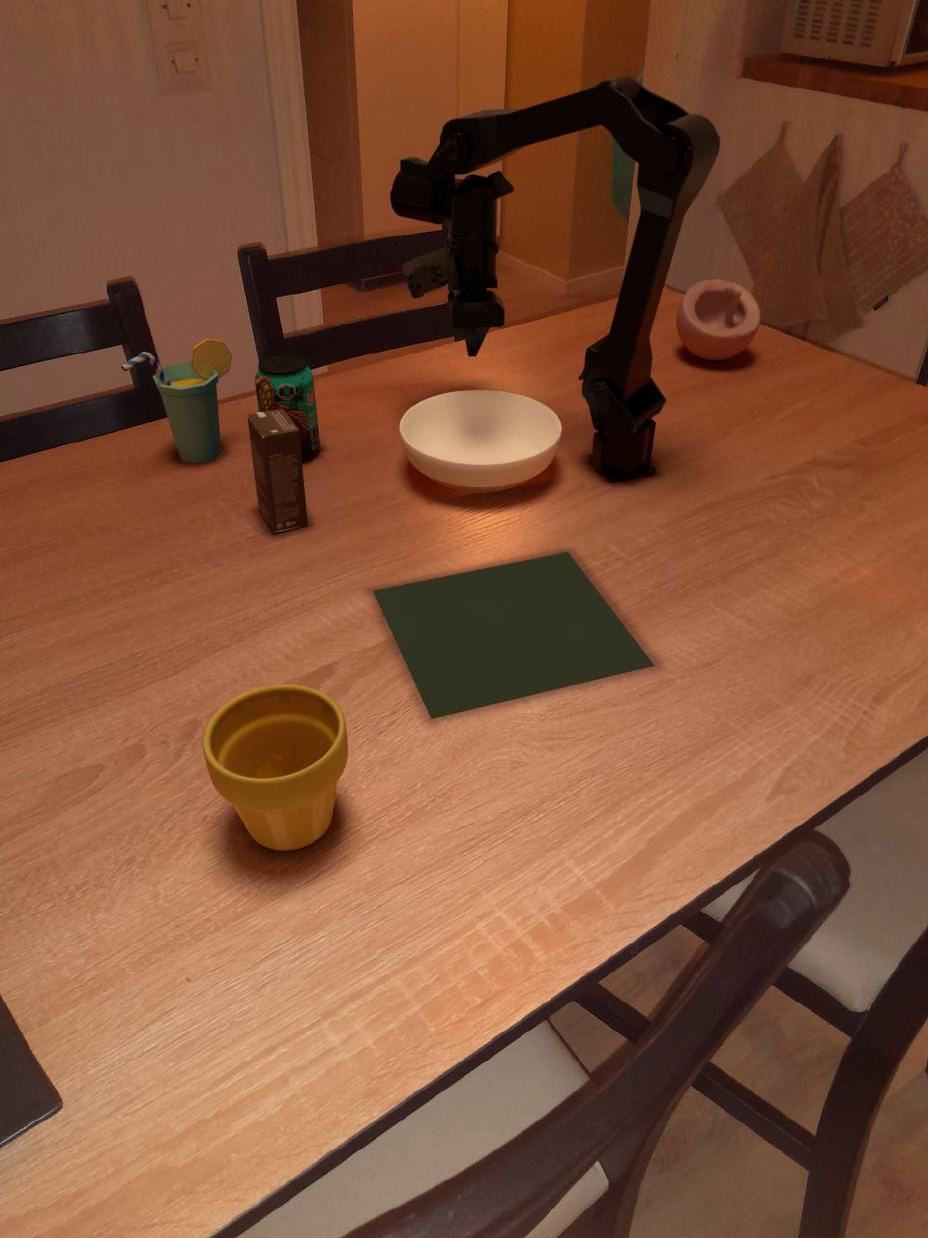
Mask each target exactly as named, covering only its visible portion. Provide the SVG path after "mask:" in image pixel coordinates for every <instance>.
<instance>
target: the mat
mask: <svg viewBox="0 0 928 1238" xmlns="http://www.w3.org/2000/svg"><path fill="white" fill-rule="evenodd" d="M372 593H373V594H374V596H375V598H376V601H377V603H378V605H379V608H380V610H381V612H382V614H383V616H384V618H385V621H386V623H387V625H388V627H389V630H390V631H391V634H392V636H393V639H394V640H395V642H396V645H397V647H398V649H399V652H400V654H401V656H402V658H403V660H404V662H405V664H406V666H407V669H408V671H409V673H410V675H411V677H412V680H413V682H414V684H415V686H416V689H417V691H418V693H419V695H420V697H421V700H422V702H423V704H424V706H425V708H426V710H427V713H428V715H429V717H430V719H431V720H434V719H439V718H442V717H447V716H450V715H454V714H458V713H463V712H467V711H471V710H475V709H479V708H483V707H488V706H491V705H497V704H501V703H505V702H508V701H513V700H517V699H522V698H526V697H530V696H534V695H537V694H542V693H547V692H550V691H554V690H559V689H564V688H567V687H572V686H575V685H576V686H577V685H580V684H584V683H587V682H592V681H597V680H600V679H605V678H609V677H614V676H617V675H621V674H626V673H630V672H635V671H638V670H642V669H647V668H650V667H651V668H652V667H655V664H654V662H653V661H652V660H651V658H649V656H648V654H647V653H646V652H645V650H643V648H642V647H641V646H640V644H639V643H638V641H637V640H636V639H635V638H634V636H633V635H632V634H631V633H630V631H629V630H628V629H627V627H626V626H625V625H624V623H623V622H622V620H621V619H620V618H619V616H618V615H617V613H615V611H614V610H613V609H612V607H610V605H609V603H608V602H607V601H606V600H605V598H604V597H603V596H602V594H601V592H599V590H598V589H597V588H596V586H595V585H594V583H592V581H591V580H590V579H589V578H588V576H587V575H586V573H585V572H584V570H583V569H582V568H581V567H580V566H579V564H578V563H577V562H576V560H575V559H574V557H573V556H572V555H571V554H570V552H569V551H564V552H559V553H554V554H549V555H544V556H539V557H534V558H529V559H524V560H519V561H515V562H510V563H503V564H499V565H494V566H488V567H484V568H480V569H479V568H478V569H474V570H469V571H464V572H459V573H454V574H450V575H443V576H439V577H434V578H429V579H424V580H419V581H414V582H409V583H405V584H399V585H394V586H389V587H383V588H379V589H374V590H372Z"/></svg>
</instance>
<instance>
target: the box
mask: <svg viewBox="0 0 928 1238" xmlns="http://www.w3.org/2000/svg"><path fill="white" fill-rule="evenodd" d="M247 424H248V432H249V441H250V449H251V458H252V466H253V474H254V483H255V491H256V499H257V507H258V511H259V512H260V514H261V515H262V517H263V519H264V520H265V522H266V524H267V525H268V527H269V528H270V530H271V532H272V533H273V534H276V533H280V534H281V533H282V532H286V531H291V530H294V529H298V528H301V527H305V526H307V525H308V524H309V522H308V521H309V520H308V510H307V509H308V508H307V498H306V497H307V496H306V488H305V478H304V466H303V461H302V456H301V445H300V434H299V429H298V428H297V426H296V425H295V424H294V422H293V421H292V420H291V419H290V417H289V416H288V415H287V414H286V412H285V411H284V410H283V409H278V410H271V411H265V412H259V411H258V412H255V413H249V414H248V415H247Z"/></svg>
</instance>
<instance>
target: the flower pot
mask: <svg viewBox="0 0 928 1238" xmlns="http://www.w3.org/2000/svg"><path fill="white" fill-rule="evenodd" d="M347 729H348V728H347V723H346V718H345V715H344V712H343V711H342V709H341V707H340V706H339V704H338V703H337V702H336V701H335V700H334V699H333V698H331V697H330V696H329V695H328V694H326V693H324V692H323V691H320V690H319V689H316V688H314V687H310V686H306V685H300V684H295V683H294V684H292V683H279V684H269V685H265V686H260V687H256V688H253V689H250V690H248V691H245V692H242V693H241V694H239V695H237V696H235V697H232V698H231V699H230V700H228V701H226V702H225V703H224V704H223V705H222V706H220V708H218V709H217V710H216V712H215V713H214V714H213V715H212V716H211V718H210V719H209V721H208V722H207V725H206V726H205V729H204V732H203V736H202V752H203V757H204V760H205V764H206V768H207V772H208V775H209V778H210V780H211V783H212V785H213V787H214V789H215V790H216V792H217V793H218V794H219V795H220V796H221V798H223V799H224V800H225V801H226V802H228V803H230V804H231V805H232V806H233V808H234V810H235V812H236V813H237V815H238V816H239V818H240V819H241V822H242V824H243V825H244V826H245V828H246V830H247V832H248V833H249V835H250V837H252V839H253V840H254V841H255V842H256V843H258V844H259V845H261V846H263V847H265V848H267V849H271V850H274V851H279V852H280V851H281V852H283V851H284V852H285V851H286V852H287V851H294V850H299V849H302V848H305V847H307V846H308V845H312V844H313V843H315V842H316V841H317V840H319V839H320V838H321V837H322V836H323V835H325V834H326V832H327V830H328V829H329V826H330V825H331V823H332V819H333V812H334V806H335V799H336V793H337V788H338V782H339V780H340V779H341V778H342V776H343V773H344V771H345V770H346V766H347V765H348V764H347V763H348V759H349V740H348V739H349V738H348V730H347Z"/></svg>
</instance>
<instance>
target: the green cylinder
mask: <svg viewBox="0 0 928 1238" xmlns="http://www.w3.org/2000/svg"><path fill="white" fill-rule="evenodd" d="M257 367H258V369H257V372H256V374H255V376H254V386H255V393H256V400H257V407H258V413H259V412H265V411H271V410H278V409H283V410H284V411H285V412H286V414H287V415H288V416H289V417H290V419H291V420H292V421H293V422H294V424H295V425H296V426H297V428H298V429H299V434H300V445H301V456H302V462H305V461H307V460H309V459H311V458H313V457H314V456H315V455H316V454H317V452H318V451H319V450H320V447H321V439H320V429H319V420H318V410H317V400H316V399H317V398H316V390H315V380H314V374H313V372H312V370H311V368H309V366H308V365H307V360H306V358H305V357H304V356H302V355H299V354H296V353H289V352H284V353H283V352H282V353H281V352H280V353H273V354H270V355H267V356H264V357H263V358H261V359H260V360H258V363H257Z"/></svg>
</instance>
